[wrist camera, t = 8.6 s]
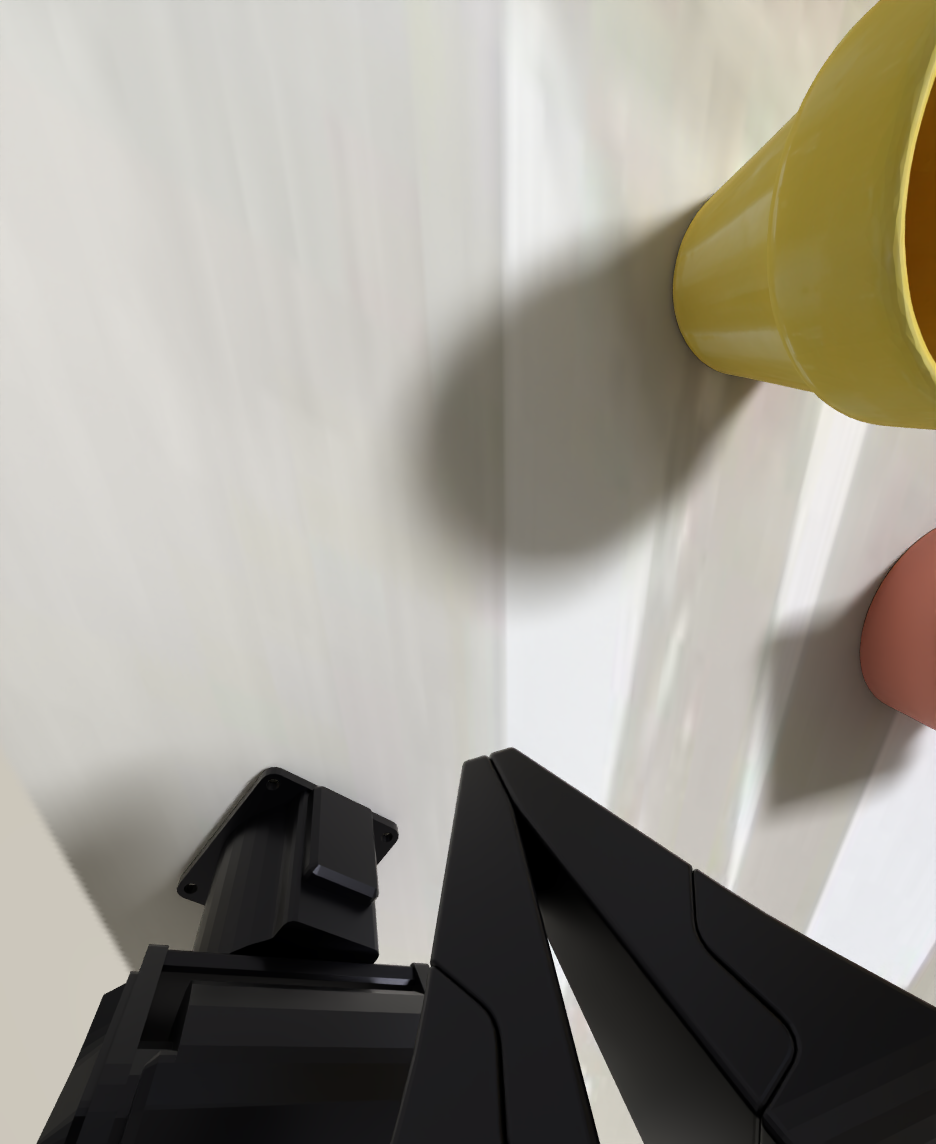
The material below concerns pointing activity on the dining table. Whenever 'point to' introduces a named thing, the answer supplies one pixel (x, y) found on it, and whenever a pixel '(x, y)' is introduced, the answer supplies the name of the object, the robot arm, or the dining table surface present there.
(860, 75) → the plant pot
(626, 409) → the dining table surface
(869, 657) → the cooker pot
